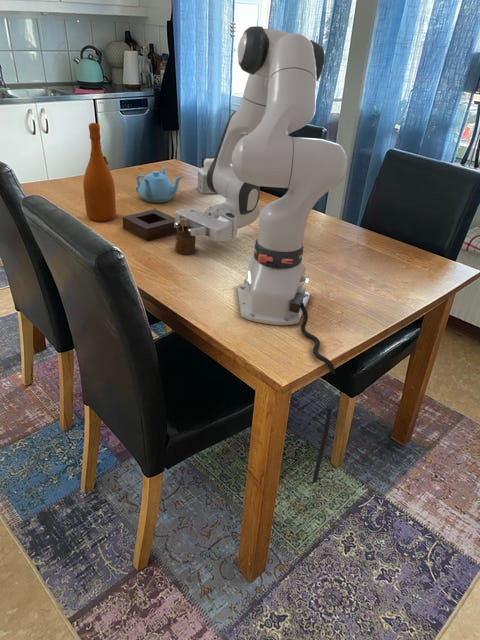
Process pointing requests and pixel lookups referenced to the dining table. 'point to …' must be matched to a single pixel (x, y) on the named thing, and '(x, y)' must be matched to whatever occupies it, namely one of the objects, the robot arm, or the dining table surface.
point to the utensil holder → (184, 239)
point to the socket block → (150, 224)
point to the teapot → (156, 187)
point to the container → (204, 175)
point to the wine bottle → (98, 182)
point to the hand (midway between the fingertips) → (182, 229)
